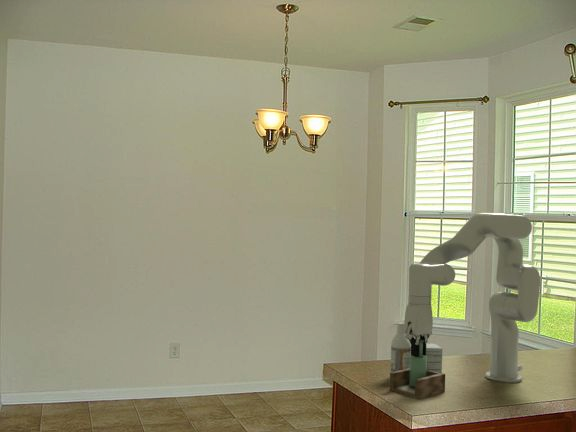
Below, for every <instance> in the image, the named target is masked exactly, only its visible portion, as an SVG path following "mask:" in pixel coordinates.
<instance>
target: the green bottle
mask: <svg viewBox="0 0 576 432" xmlns="http://www.w3.org/2000/svg"><path fill="white" fill-rule="evenodd" d="M423 342H424V340H422V339H419V343H418V345H420V352H419V357H415V356H411V355H410V370H409V385H411V386H414V387H415V379H419V378H423V377H426V374H427V356H424V355H423Z"/></svg>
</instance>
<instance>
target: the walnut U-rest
mask: <svg viewBox="0 0 576 432" xmlns="http://www.w3.org/2000/svg"><path fill="white" fill-rule="evenodd" d="M409 370H410V368H408V369H404V370H399V371H395V372H390V371H389V391H391V392H394V393H397V394H400V395H404V396H407V397H411V398H413V399H416V400H421V399H424V398H429V397H432V396H436V395H439V394H442V393H445V391H446V373H439V372H435V371H431V370H427V374H426V377H423V378H419V379H415V387H414V386H411V385H409Z"/></svg>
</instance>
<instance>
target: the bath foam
mask: <svg viewBox="0 0 576 432" xmlns="http://www.w3.org/2000/svg"><path fill="white" fill-rule="evenodd" d="M396 326H397V327H396V332H397V333H396V334H395V335H394V337H393V338H392V340H391V345H390V371H389V373H390V372H395V371H399V370H404V369H408V368H410V355H411V344H410V341H409V340H408V339H407V338H406V337H405V335H406V334H405V333H404V322H397V323H396Z"/></svg>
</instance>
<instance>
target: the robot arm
mask: <svg viewBox="0 0 576 432" xmlns="http://www.w3.org/2000/svg"><path fill="white" fill-rule="evenodd" d="M532 229H533V225H532V222H531V219H530V218H529V217H527V216H525V215H523V214H522V215H521V214H509V213H508V214H506V213H497V212H495V213H494V212H478V213H475V214H473V215H472V216H471V217H470V218H469V219H468V220H467V221H466V223H464V225H463V226H462V227H461V228H460V229H459V230H458V231H457V232H456V234H455V235H454V236H453V237H452V238H451V239H449V240H447V241H444V242H443V243H441V244H439V245H438V246H436V247H434V248H433V249H431V250H430V251H429V252H428V253H426V255H425V256H424V257H423V258H422V259H421V260H420V262H419V263H411V264H410V265H409V267H408V268H409V269H408V295H407V296H408V302H407V303H408V304H406V308H405V313H404V322H403V323H404V333H405V334H406V335H405V337H406V338H407V339H408V340H409V341H410V345H411V356H415V357H419V352H420V345H418V343H419V339H422V340H424V342H423V355H424V356H425V355H426V344H428V342H429V338H430V337H431V335H432V334H433V325H434V324H433V323H434V322H433V308H432V307H433V306H432V287H433V285H434V286H443V287H444V286H445V287H446V286H448V285H451V284H452V283H453V282H454V281H455V279H456V272H455V269H454V268H453V267H452V266H451V265H449V264H447V263H449V262H450V263H451V262H452V261H457V260H461V259H464V258H468V257H469V256H471V255H472V254H474V252H475V251H476V250H477V248H479V246H480V245H481V244H482V243H483V241H485V240H486V239H487V238H493V240H494V241H495V243H496V245H497V248H498V254H497V255H498V257H497V265H496V266H497V267H496V276H495V277H496V279H495V280H496V283H497V285H498V286H499V287H501V288H503V289H507V290H516V291H518V292H517V293H513V292H509V291H498V292H494V294H492V295H491V297H490V298H489V301H488V310H489V315H490V357H489V359H490V360H489V361H490V362H489V364H490V365H489V371H487V372H485V378H487V379H489V380H491V381H495V382H500V383H508V384H509V383H512V384H514V383H519V382H521V381H523V377H522V375H520V374H518V373H519V372H521V371H522V370H523V366H522V365H520V364H519V363H518V361H519V335H520V334H519V333H520V332H519V327H518V323H517V322H522V323H530V322H532V321H533V320H535V318H536V316H537V313H538V309H539V301H540V290H541V275H540V272H539V270H538V269H537V268H536V267H535V266H533V265H531V264H525V263H524V264H523V259H524V256H523V255H524V248H523V245H522V242H521V241H520V240H523V239H527V237H529V235H531V233H532ZM516 321H517V322H516Z"/></svg>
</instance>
